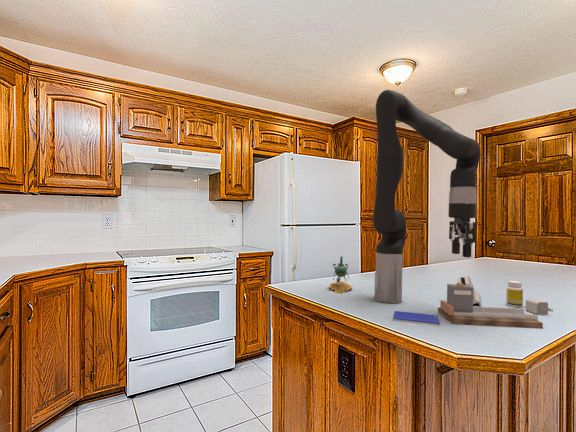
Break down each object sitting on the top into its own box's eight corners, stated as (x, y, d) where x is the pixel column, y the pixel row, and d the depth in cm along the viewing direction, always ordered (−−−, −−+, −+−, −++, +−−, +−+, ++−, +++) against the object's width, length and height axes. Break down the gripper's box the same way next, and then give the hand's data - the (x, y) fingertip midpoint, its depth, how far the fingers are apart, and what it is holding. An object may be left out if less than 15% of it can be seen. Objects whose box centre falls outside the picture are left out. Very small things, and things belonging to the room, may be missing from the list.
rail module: (451, 313, 99) (452, 284, 99) (446, 309, 103) (447, 281, 103) (472, 314, 99) (473, 284, 99) (467, 310, 103) (467, 282, 103)
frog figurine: (354, 285, 148) (355, 252, 146) (350, 299, 130) (351, 262, 129) (332, 284, 150) (333, 251, 149) (325, 297, 133) (326, 260, 131)
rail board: (452, 323, 95) (452, 308, 95) (437, 312, 107) (438, 298, 107) (542, 328, 93) (542, 312, 93) (517, 315, 105) (517, 301, 105)
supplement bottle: (525, 308, 114) (525, 283, 114) (509, 307, 115) (510, 282, 115) (518, 304, 119) (518, 280, 119) (503, 303, 120) (504, 280, 120)
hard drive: (437, 314, 101) (394, 310, 105) (439, 322, 93) (393, 317, 98) (437, 319, 101) (394, 315, 105) (439, 328, 93) (393, 322, 98)
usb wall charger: (536, 310, 111) (536, 298, 111) (555, 317, 104) (555, 304, 104) (525, 311, 111) (525, 299, 111) (544, 317, 104) (544, 304, 104)
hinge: (481, 306, 115) (470, 278, 116) (466, 309, 117) (456, 281, 119) (480, 297, 129) (471, 272, 131) (467, 299, 132) (458, 275, 133)
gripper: (441, 203, 110) (440, 252, 110) (458, 201, 96) (457, 257, 96) (465, 203, 109) (464, 253, 109) (486, 201, 95) (484, 258, 95)
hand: (461, 255), depth 102 cm, fingers open, 8 cm apart
